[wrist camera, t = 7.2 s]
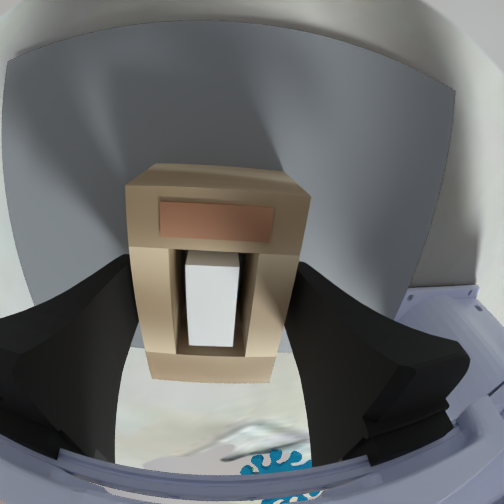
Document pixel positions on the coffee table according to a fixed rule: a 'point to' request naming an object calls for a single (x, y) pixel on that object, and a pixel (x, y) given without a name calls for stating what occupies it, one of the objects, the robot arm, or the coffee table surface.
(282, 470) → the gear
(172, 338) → the open rectangular tan frame
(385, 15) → the coffee table surface
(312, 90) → the board
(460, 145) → the coffee table surface
